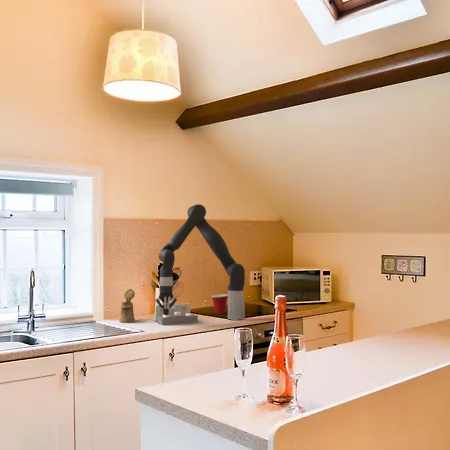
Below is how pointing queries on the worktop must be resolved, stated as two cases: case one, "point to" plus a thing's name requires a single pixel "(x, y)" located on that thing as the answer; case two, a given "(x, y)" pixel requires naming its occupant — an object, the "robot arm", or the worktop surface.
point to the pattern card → (172, 310)
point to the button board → (177, 319)
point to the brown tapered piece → (127, 308)
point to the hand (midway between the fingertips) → (165, 315)
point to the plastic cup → (219, 303)
